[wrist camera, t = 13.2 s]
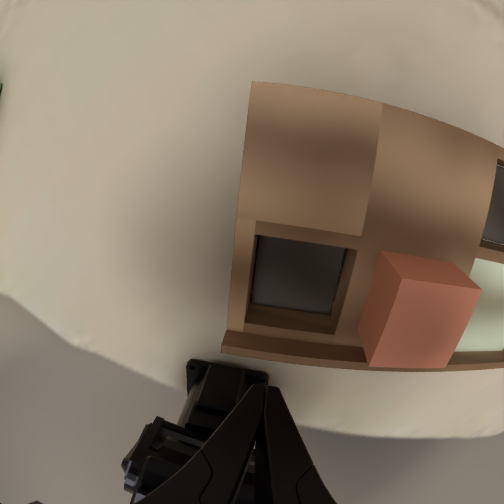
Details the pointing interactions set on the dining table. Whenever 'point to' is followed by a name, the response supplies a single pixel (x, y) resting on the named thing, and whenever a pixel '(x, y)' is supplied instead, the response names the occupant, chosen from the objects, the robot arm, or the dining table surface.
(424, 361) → the block
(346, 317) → the brown compartment tray
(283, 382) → the dining table surface
